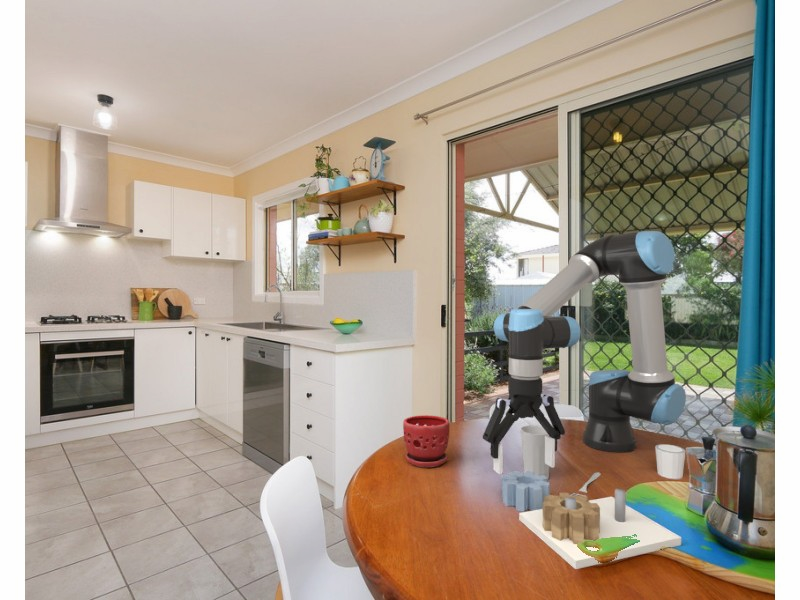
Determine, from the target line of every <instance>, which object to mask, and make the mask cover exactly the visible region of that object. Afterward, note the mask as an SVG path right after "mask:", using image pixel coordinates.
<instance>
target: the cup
mask: <svg viewBox="0 0 800 600" xmlns="http://www.w3.org/2000/svg"><path fill="white" fill-rule="evenodd" d="M545 436H549V435H548V433H547V432H546V431H545V430H544V428H543V427H542V426H541V425H535V424H528V425H524V426H521V427H520V437H521V448H522V449H521V450H522V459H523V461H522V462H523V473H525V472H526V471H530V472H534V474H535V476H536V475H537V476H541V475H543V476H545V477H546V478H547V479H549V477H550V466H548V465H547V464H545Z"/></svg>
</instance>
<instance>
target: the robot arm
mask: <svg viewBox="0 0 800 600" xmlns="http://www.w3.org/2000/svg"><path fill="white" fill-rule="evenodd" d="M675 261H676V255H675V249H674V246H673V244H672V241H671V239H669V238H668V236H666V234H665V233H663V232H662V231H657V230H644V231H643V230H642V231H637V232H628V233H620V234H611V235H610V234H609V235H604V236H602V237H600V238H597V239H595V240H594V241H592V242H590V243H589V244H587V245H585V246H583V248H581V249H580V250H578V251H577V252H576V253H575V254H573V256H571V257H570V259H569V261H568V264H567V265H566V266H565V267H564V268H562V269H561V271H559V272H558V273H557V274H556V275H555V276H553V277H552V278H551V279H550V280H549V281H548V282H546V283H545V284H544V285H543V286H542V287H541V288H540V289H538V290H537V291H536V292H535V293H534V294H533V295H532V296H530V297H529V298H528V299H527V300H526V301H525V302H524V303H523V304H521V305H520V306H519V307H517V308H515V309H512V310H511V311H510V312H506V313H500V314H499V315H498V316H497V317H496V318H495V319H494V323H493V331H494V334H495V336H496V337H497V339H499V340H500V341H503V342H507V343H508V374H509V375H510V376H509V377H508V380H507V382H508V383H507V387H508V388H507V390H508V398H507V399H502V398H500V397H497V398H496V399H495V406H494V409H493V411H492V414H491V416H490V418H489V421H488V423H487V425H486V428H485V430H484V432H483V434H482V439H483V440H484V441H486V442H487V443H489V444H490V456H491V458H493V471H495V472H496V473H497V474H498V475H502V474H503V468H504V467H503V464H504V463H503V461H504V458H503V455H504V453H503V449H504V447H503V446H504V445H503V444H502V443H501V442H502V440H503V439H504V438H505V436H506V435H507V433H508V432H509V431H510V429H511V428H512V426H513V425H514V423H515V422H517V421H518V420H519V419H526V418H535V419H536V421H537V422H538V423H539V424H540V426H542V427H543V428H544V430H545V431H546V432H547V433H548V435H549V436H545V464H547V465H548V466H549V468H550V467H551V468H555V466H556V465H555V463H556V461H555V460H556V459H555V457H556V453H555V452H557V450H558V440H561V436H565V434H566V430H565V428H564V425H563V424H562V421H561V419H560V416H559V414H558V412H557V409H556V407H555V400H554V397H553V396H552V395H551V396H550V395H547V394H543V379H542V378H541V377H542V376H543V374H544V373H543V369H544V368H543V352H544V350H545V349H547V350H548V349H565V348H569V347H573V346H575V345H576V344H577V343H578V342H579V340H580V338H581V333H582V332H581V327H580V324H579V322H578V321H577V320H576V319H575V318H574V317H571V316H565V315H558V316H553V315H554V314H556V313H557V311H559V310H560V309H561V308H562V307H563V306H565V304H566V303H568V302H569V301H570V300H571V299H573V297H574V296H575V295H576V294H578V292H579V291H581V290H582V288H584V287H585V286H586V285H588V284H592V283H594V282H596V281H597V280H598V279H599V278H603V277H605V276H618V281H619V284H620V285H622V286H623V287H624V288H625V293H626V305H627V315H628V317H627V318H628V326H629V335H630V336H629V338H630V349H631V357H632V358H631V359H632V370H631V371H630V370H627V369H602V370H600V369H599V370H595V371H592V372H591V373H590V375H589V377H588V378H589V381H588V418H587V422H586V425H585V430H584V431H583V434H582V442H583V443H584V444H585V445H586V446H588V447H590V448H592V449H596V450H599V451H603V452H604V451H605V452H612V453H628V452H631V451H634V450H636V448H637V439H636V437H635V434H634V430H633V427H632V424H631V417H632V418H635V419H638V420H643V421H647V422H650V423H653V424H660V425H665V426H666V425H667V426H669V425H672V424H674V423H676V422H677V421H678V420H679V418H680V417H681V415H682V414H683V412H684V410H685V406H686V399H687V396H686V395H687V394H686V393H687V392H686V390H685V389H684V386H682V385H680V384H679V383H676V379H675V374H674V373H673V372H672V371H670V370H669V369H668V359H667V346H666V335H665V324H664V323H665V322H664V311H663V299H662V296H663V295H662V287H661V286H662V284H664V283H665V281H666V280H667V274H668V273H670V272H671V271H672V270H673V269H674V266H675V265H674V263H675ZM542 395H543V396H542ZM542 405H543V407H544V410H545V411H546V415H547V416H548V419H549V420H548V419H547V417H546V416H545V414H544V412H543V411H542V410H541V406H542ZM508 407H509V408H508ZM506 410H507V411H506ZM504 415H505V416H504Z"/></svg>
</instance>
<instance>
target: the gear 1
mask: <svg viewBox="0 0 800 600" xmlns="http://www.w3.org/2000/svg"><path fill="white" fill-rule="evenodd" d="M550 485H551V484H550V482H549V481H548V478H546V477H545V476H543V475H541V476H537V475H536V476H535V474H534V472H530V471H526V472H525V473H524V472H523V473H522V472H519V471H518V470H513V471H509V474H503V475H502V476H501V498H502V499H503V500H502V501H503V502H502V503H503V504H504V505H505V506H506V507H515V510H516V511H517V512H521V513H522V512H526V511H528V509H529V511H533V510H539V509H543V502H545V496H547V495H549V494H551V493H550V491H551V488H550V487H551V486H550Z"/></svg>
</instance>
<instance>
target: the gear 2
mask: <svg viewBox="0 0 800 600" xmlns="http://www.w3.org/2000/svg"><path fill="white" fill-rule="evenodd" d="M558 494H559V495H553V494H551V493H550V494H549V495H547V496H545V502H543V507H542V509H543V528H544V531H551V532H552V537H553V538H555V539H557V540H559V541H561V540H563V539H568V538H569V540H572V542H573V544H578V543H579V542H580V543H584V539H585V540H593V541H596V540H597V539H599V533H600V507H599V506H598V504H597V503H590V502H589V497H588V496H587V497H584V496H581V495H582V494H581V495H578V497H577V496H575V497H572V496H573V495H572V496H570V495H571V494H570V493H569V492H559V493H558ZM567 497H572V498H575V499H576V509H567V508H565V499H566V498H567Z"/></svg>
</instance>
